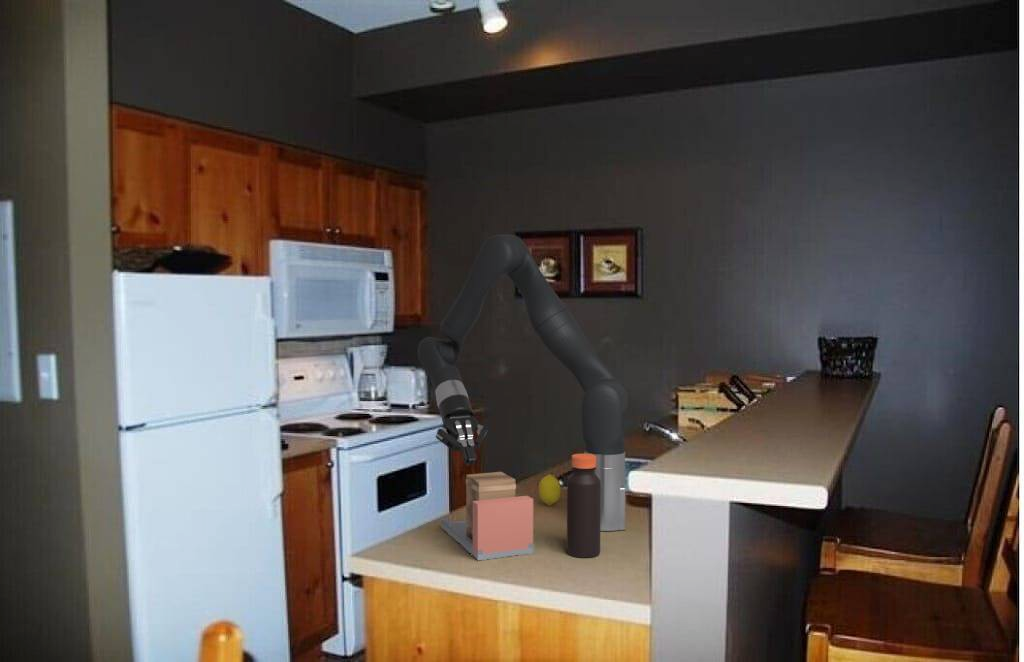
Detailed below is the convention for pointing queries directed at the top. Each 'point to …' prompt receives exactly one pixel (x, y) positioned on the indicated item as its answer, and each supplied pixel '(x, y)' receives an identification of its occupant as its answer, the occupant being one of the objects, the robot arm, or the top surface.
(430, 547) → the top surface
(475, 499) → the crate
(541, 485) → the lemon
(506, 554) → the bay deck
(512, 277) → the robot arm
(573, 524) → the bottle
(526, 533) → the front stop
